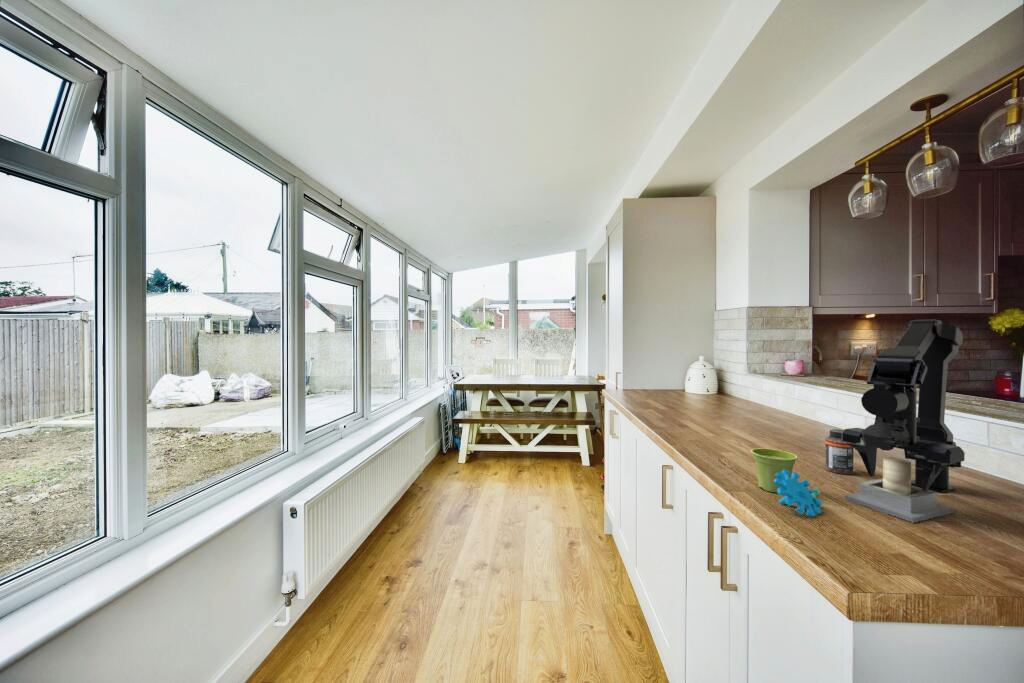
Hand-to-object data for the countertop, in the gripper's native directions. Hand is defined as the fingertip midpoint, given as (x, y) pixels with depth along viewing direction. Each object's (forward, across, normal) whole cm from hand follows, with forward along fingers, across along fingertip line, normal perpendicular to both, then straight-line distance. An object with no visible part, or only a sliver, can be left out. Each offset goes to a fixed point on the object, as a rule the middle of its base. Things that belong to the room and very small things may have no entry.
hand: (896, 483), depth 86 cm
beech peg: (+4, 0, 0) cm, 4 cm away
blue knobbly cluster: (+5, -6, -22) cm, 23 cm away
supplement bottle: (+5, -19, +13) cm, 24 cm away
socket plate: (+5, 0, 0) cm, 5 cm away
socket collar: (+4, 0, 0) cm, 4 cm away
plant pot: (+5, -16, -16) cm, 23 cm away
